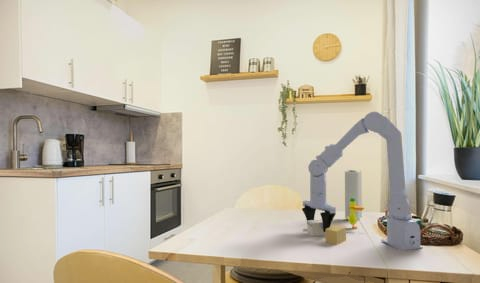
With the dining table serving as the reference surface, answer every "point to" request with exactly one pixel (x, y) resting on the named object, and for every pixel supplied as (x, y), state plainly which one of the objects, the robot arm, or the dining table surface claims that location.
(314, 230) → the cream brick
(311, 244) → the dining table surface
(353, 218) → the toy figure
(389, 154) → the robot arm
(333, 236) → the ochre brick
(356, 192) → the paper towel roll
